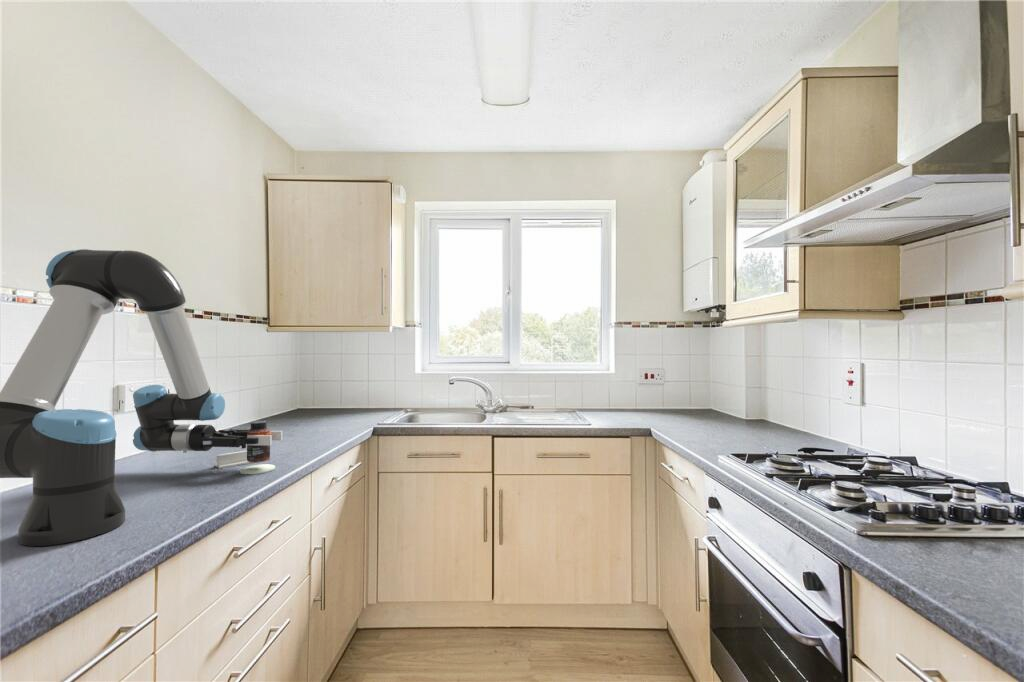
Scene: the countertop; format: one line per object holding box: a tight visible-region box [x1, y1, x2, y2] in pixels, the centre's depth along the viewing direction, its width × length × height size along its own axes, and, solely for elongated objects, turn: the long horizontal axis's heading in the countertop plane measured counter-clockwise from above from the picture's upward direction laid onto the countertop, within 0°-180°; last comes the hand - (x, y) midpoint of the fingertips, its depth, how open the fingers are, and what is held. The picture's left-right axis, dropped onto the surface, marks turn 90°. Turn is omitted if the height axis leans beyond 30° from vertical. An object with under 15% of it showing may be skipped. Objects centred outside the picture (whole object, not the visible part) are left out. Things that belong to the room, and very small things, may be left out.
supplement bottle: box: [246, 420, 271, 463], centre depth 132 cm, size 6×6×11 cm
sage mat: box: [239, 463, 276, 476], centre depth 132 cm, size 9×9×1 cm
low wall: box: [214, 449, 271, 470], centre depth 140 cm, size 5×14×4 cm, turn 139°
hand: (276, 437), depth 132 cm, fingers closed on supplement bottle, 6 cm apart
